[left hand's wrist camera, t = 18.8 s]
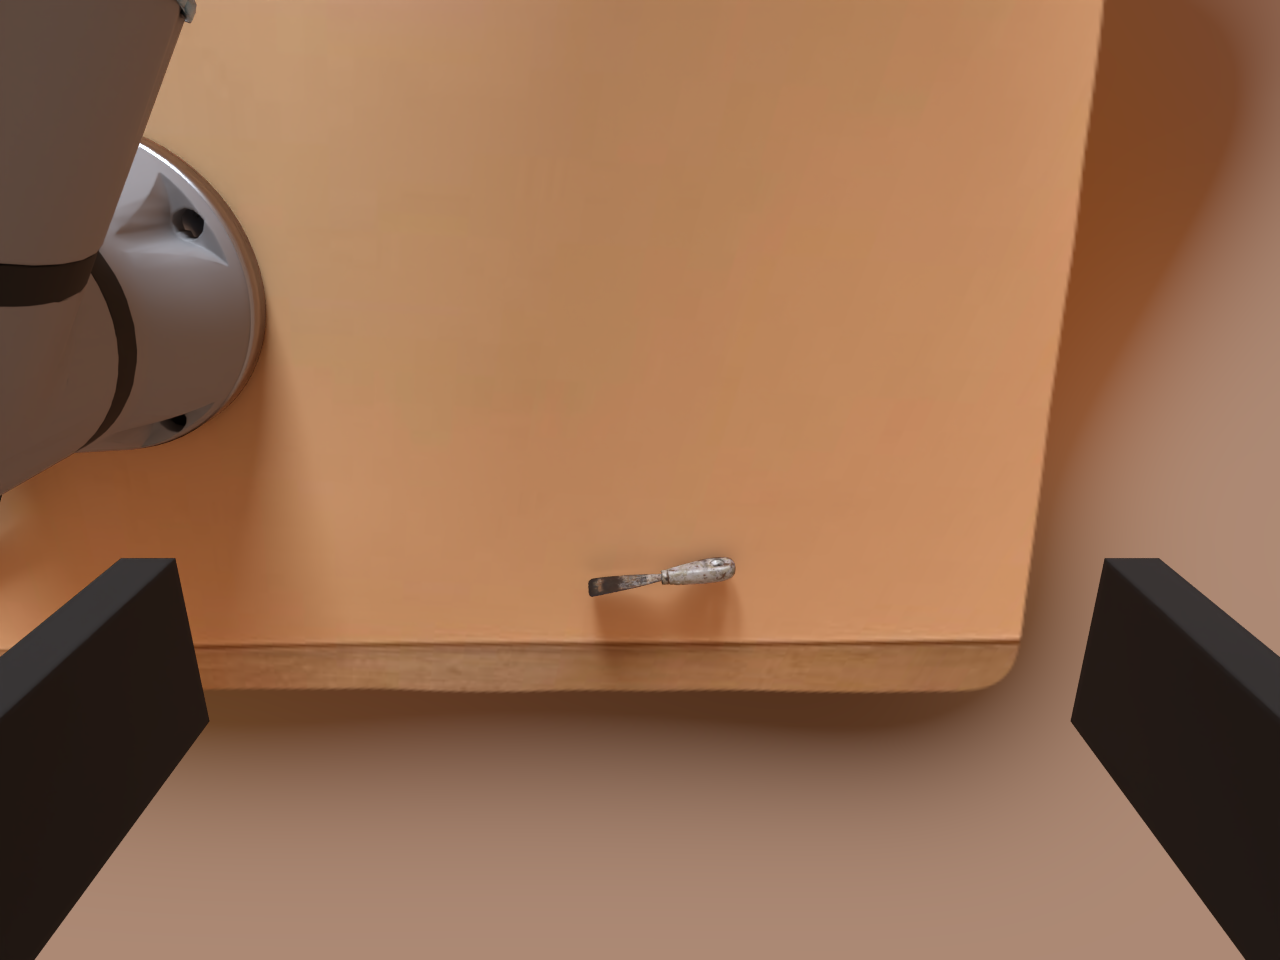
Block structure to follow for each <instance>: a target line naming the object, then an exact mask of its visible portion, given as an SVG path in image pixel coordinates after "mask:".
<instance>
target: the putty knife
mask: <svg viewBox="0 0 1280 960" xmlns="http://www.w3.org/2000/svg"><path fill="white" fill-rule="evenodd" d="M661 572H662V574H644V575H625V576H611V577H602V578H595V579H591V580H590V581H589V583H588V585H589V586H588V587H589V595H590V596H591V597H593V596H598V595H603V594H608V593H613V592H617V591H622V590H627V589H631V588H636V587H640V586H644V585H648V584H651V583H655V582H659V581H662V584H663V585H665V584H670V585H673V584H674V585H686V584H704V583H712V582H719V581H725V580H727V579H730V578H732V577H733V575H734V574H735V564H734V562H733V560H732V559H730V558H726V557H718V558H709V559H703V560H699V561H695V562H691V563H687V564H683V565H679V566H676V567H672V568H669V569H666V570H662V571H661Z"/></svg>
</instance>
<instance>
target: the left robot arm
mask: <svg viewBox="0 0 1280 960" xmlns="http://www.w3.org/2000/svg"><path fill="white" fill-rule="evenodd" d="M195 13H196V3H195V0H0V500H1V497H2V494H4V493H5V492H7V491H9V490H11V489H12V488H14V487H16V486H18V485H19V484H21V483H23V482H25V481H26V480H28V479H30V478H32V477H33V476H35V475H37V474H38V473H40V472H42V471H44V470H45V469H47V468H49V467H51V466H52V465H54V464H56V463H58V462H59V461H61V460H63V459H65V458H66V457H68V456H70V455H71V454H73V453H79V452H98V451H118V450H132V449H139V448H146V447H151V446H156V445H160V444H163V443H167V442H170V441H172V440H175V439H177V438H180V437H182V436H184V435H186V434H188V433H190V432H192V431H193V430H195V429H197V428H198V427H200V426H201V425H203V424H204V423H206V422H207V421H209V420H210V419H212V418H213V417H215V416H216V415H217V414H219V413H220V412H221V411H222V410H224V409H225V408H226V407H227V406H228V405H229V404H230V403H231V402H232V401H233V400H234V399H235V398H236V397H237V396H238V394H239V393H240V392H241V390H242V389H243V388H244V386H245V385H246V383H247V382H248V380H249V378H250V376H251V374H252V372H253V371H254V368H255V366H256V363H257V361H258V358H259V355H260V351H261V348H262V344H263V338H264V332H265V320H266V308H265V295H264V288H263V282H262V278H261V273H260V269H259V266H258V263H257V260H256V257H255V254H254V252H253V249H252V247H251V245H250V242H249V240H248V238H247V236H246V234H245V232H244V230H243V228H242V227H241V225H240V223H239V221H238V220H237V218H236V217H235V215H234V214H233V212H232V210H231V209H230V208H229V206H228V205H227V204H226V202H225V201H224V200H223V199H222V197H221V196H220V195H219V193H218V192H217V191H216V190H215V189H214V188H213V187H212V186H211V185H210V184H209V183H208V181H207V180H205V179H204V178H203V177H202V176H201V175H200V174H199V173H198V172H197V171H196V170H195V169H194V168H192V167H191V166H190V165H188V164H187V163H186V162H185V161H183V160H182V159H181V158H179V157H178V156H176V155H175V154H173V153H172V152H170V151H169V150H167V149H166V148H164V147H162V146H160V145H159V144H157V143H155V142H153V141H151V140H149V139H147V138H145V137H143V133H144V130H145V128H146V125H147V122H148V119H149V117H150V114H151V111H152V108H153V106H154V103H155V100H156V97H157V95H158V92H159V89H160V86H161V84H162V81H163V78H164V75H165V73H166V70H167V67H168V64H169V62H170V59H171V56H172V54H173V51H174V48H175V45H176V43H177V40H178V37H179V34H180V32H181V29H182V26H183V23H184V21H185V22H188V23H191V22H192V20H193V17H194V15H195ZM208 722H209V717H208V712H207V708H206V703H205V698H204V693H203V688H202V684H201V679H200V674H199V669H198V664H197V660H196V655H195V650H194V645H193V641H192V636H191V631H190V626H189V621H188V617H187V612H186V607H185V602H184V598H183V593H182V588H181V583H180V578H179V574H178V569H177V564H176V559H175V558H121V559H120V560H118V561H117V562H116V563H115V564H113V565H112V566H111V567H110V568H109V569H107V570H106V571H105V572H104V573H102V574H101V575H100V576H99V577H98V578H96V579H95V580H94V581H93V582H91V583H90V584H89V585H88V586H87V587H85V588H84V589H83V590H82V591H80V592H79V593H78V594H77V595H76V596H74V597H73V598H72V599H71V600H69V601H68V602H67V603H66V604H65V605H63V606H62V607H61V608H60V609H58V610H57V611H56V612H55V613H54V614H52V615H51V616H50V617H49V618H47V619H46V620H45V621H44V622H43V623H41V624H40V625H39V626H38V627H36V628H35V629H34V630H33V631H31V632H30V633H29V634H28V635H27V636H25V637H24V638H23V639H22V640H20V641H19V642H18V643H17V644H16V645H14V646H13V647H12V648H11V649H9V650H8V651H7V652H6V653H5V654H3V655H2V656H1V657H0V960H35V958H36V957H37V956H38V954H39V953H40V951H41V950H42V949H43V947H44V946H45V945H46V943H47V942H48V941H49V939H50V938H51V936H52V935H53V934H54V932H55V931H56V930H57V928H58V927H59V926H60V924H61V923H62V921H63V920H64V919H65V917H66V916H67V915H68V913H69V912H70V911H71V909H72V908H73V906H74V905H75V904H76V902H77V901H78V900H79V898H80V897H81V896H82V894H83V893H84V891H85V890H86V889H87V887H88V886H89V885H90V883H91V882H92V881H93V879H94V878H95V876H96V875H97V874H98V872H99V871H100V870H101V868H102V867H103V866H104V864H105V863H106V861H107V860H108V859H109V857H110V856H111V855H112V853H113V852H114V851H115V849H116V848H117V846H118V845H119V844H120V842H121V841H122V840H123V838H124V837H125V836H126V834H127V833H128V831H129V830H130V829H131V827H132V826H133V825H134V823H135V822H136V821H137V819H138V818H139V816H140V815H141V814H142V812H143V811H144V810H145V808H146V807H147V806H148V804H149V803H150V801H151V800H152V799H153V797H154V796H155V795H156V793H157V792H158V791H159V789H160V788H161V786H162V785H163V784H164V782H165V781H166V780H167V778H168V777H169V776H170V774H171V773H172V771H173V770H174V769H175V767H176V766H177V765H178V763H179V762H180V761H181V759H182V758H183V756H184V755H185V754H186V752H187V751H188V750H189V748H190V747H191V746H192V744H193V743H194V741H195V740H196V739H197V737H198V736H199V735H200V733H201V732H202V731H203V729H204V728H205V726H206V725H207V724H208ZM1071 722H1072V724H1073V725H1074V727H1075V728H1076V729H1077V731H1078V732H1079V733H1080V735H1081V736H1082V737H1083V739H1084V740H1085V742H1086V743H1087V744H1088V746H1089V747H1090V748H1091V750H1092V751H1093V752H1094V754H1095V755H1096V757H1097V758H1098V759H1099V761H1100V762H1101V763H1102V765H1103V766H1104V767H1105V769H1106V770H1107V771H1108V773H1109V774H1110V776H1111V777H1112V778H1113V780H1114V781H1115V782H1116V784H1117V785H1118V786H1119V788H1120V789H1121V791H1122V792H1123V793H1124V795H1125V796H1126V797H1127V799H1128V800H1129V801H1130V803H1131V804H1132V805H1133V807H1134V808H1135V810H1136V811H1137V812H1138V814H1139V815H1140V816H1141V818H1142V819H1143V821H1144V822H1145V823H1146V825H1147V826H1148V827H1149V829H1150V830H1151V831H1152V833H1153V834H1154V836H1155V837H1156V838H1157V840H1158V841H1159V842H1160V844H1161V845H1162V846H1163V848H1164V849H1165V851H1166V852H1167V853H1168V855H1169V856H1170V857H1171V859H1172V860H1173V861H1174V863H1175V864H1176V865H1177V867H1178V868H1179V870H1180V871H1181V872H1182V874H1183V875H1184V876H1185V878H1186V879H1187V881H1188V882H1189V883H1190V885H1191V886H1192V887H1193V889H1194V890H1195V891H1196V893H1197V894H1198V896H1199V897H1200V898H1201V900H1202V901H1203V902H1204V904H1205V905H1206V906H1207V908H1208V909H1209V911H1210V912H1211V913H1212V915H1213V916H1214V917H1215V919H1216V920H1217V921H1218V923H1219V924H1220V926H1221V927H1222V928H1223V930H1224V931H1225V932H1226V934H1227V935H1228V936H1229V938H1230V939H1231V941H1232V942H1233V943H1234V945H1235V946H1236V947H1237V949H1238V950H1239V951H1240V953H1241V954H1242V956H1243V957H1244V958H1245V960H1280V657H1279V656H1278V655H1277V654H1275V653H1274V652H1273V651H1272V650H1271V649H1269V648H1268V647H1267V646H1266V645H1264V644H1263V643H1262V642H1261V641H1259V640H1258V639H1257V638H1256V637H1254V636H1253V635H1252V634H1251V633H1250V632H1249V631H1247V630H1246V629H1245V628H1244V627H1242V626H1241V625H1240V624H1239V623H1237V622H1236V621H1235V620H1234V619H1233V618H1231V617H1230V616H1229V615H1228V614H1226V613H1225V612H1224V611H1223V610H1222V609H1220V608H1219V607H1218V606H1217V605H1215V604H1214V603H1213V602H1212V601H1211V600H1209V599H1208V598H1207V597H1206V596H1204V595H1203V594H1202V593H1201V592H1200V591H1198V590H1197V589H1196V588H1195V587H1193V586H1192V585H1191V584H1190V583H1189V582H1187V581H1186V580H1185V579H1184V578H1182V577H1181V576H1180V575H1179V574H1178V573H1176V572H1175V571H1174V570H1173V569H1171V568H1170V567H1169V566H1168V565H1167V564H1165V563H1164V562H1163V561H1162V560H1160V559H1159V558H1105V559H1104V564H1103V569H1102V574H1101V578H1100V583H1099V588H1098V593H1097V598H1096V602H1095V607H1094V612H1093V617H1092V622H1091V626H1090V631H1089V636H1088V641H1087V645H1086V650H1085V655H1084V660H1083V664H1082V669H1081V674H1080V679H1079V684H1078V688H1077V693H1076V698H1075V703H1074V707H1073V712H1072V717H1071Z"/></svg>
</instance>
